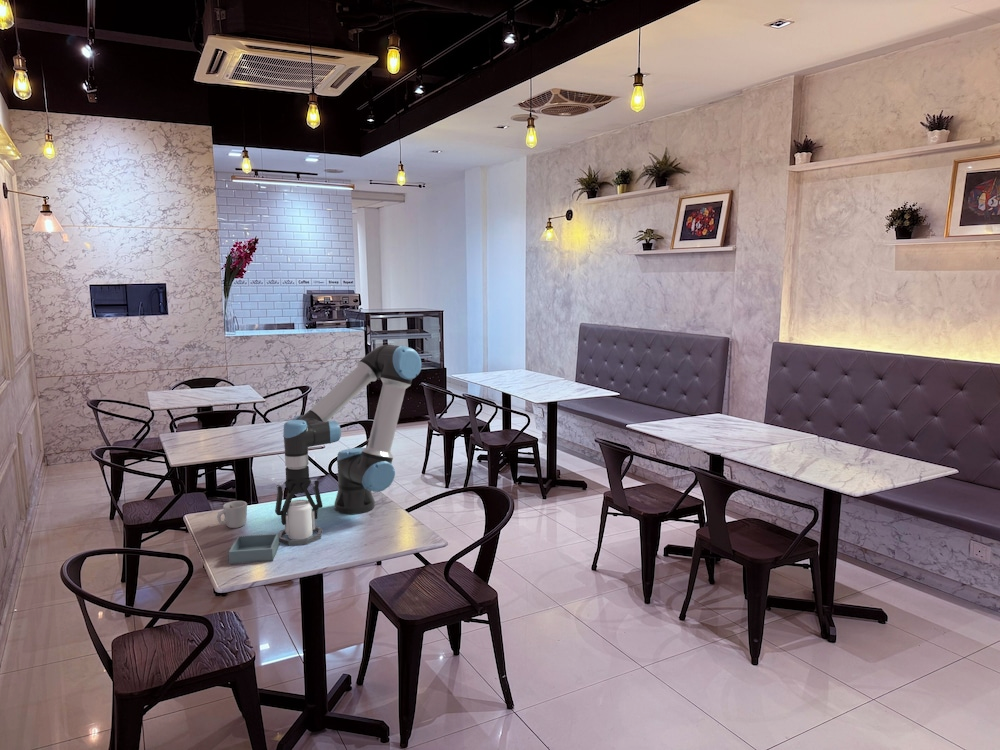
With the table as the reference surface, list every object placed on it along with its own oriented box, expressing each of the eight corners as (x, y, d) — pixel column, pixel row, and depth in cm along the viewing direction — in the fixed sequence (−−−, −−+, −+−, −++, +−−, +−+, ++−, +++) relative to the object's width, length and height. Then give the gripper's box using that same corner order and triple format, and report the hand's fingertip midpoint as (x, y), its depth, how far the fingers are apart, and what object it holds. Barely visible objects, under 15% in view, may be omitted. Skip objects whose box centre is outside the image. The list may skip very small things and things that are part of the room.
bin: (279, 545, 222) (278, 533, 221) (272, 561, 209) (272, 549, 208) (238, 547, 219) (237, 536, 219) (229, 564, 207) (228, 551, 206)
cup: (224, 534, 231) (223, 511, 230) (212, 528, 236) (211, 507, 235) (252, 524, 240) (251, 503, 239) (240, 520, 245) (239, 499, 243)
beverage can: (286, 542, 224) (284, 507, 222) (289, 533, 232) (287, 500, 230) (311, 540, 225) (310, 506, 224) (313, 531, 233) (312, 498, 232)
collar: (323, 528, 236) (323, 524, 236) (319, 543, 223) (319, 539, 223) (282, 530, 234) (282, 526, 234) (275, 546, 220) (275, 542, 220)
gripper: (324, 459, 233) (327, 521, 237) (262, 468, 223) (266, 533, 226) (330, 464, 227) (333, 528, 230) (267, 473, 216) (270, 540, 220)
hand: (300, 530), depth 228 cm, fingers closed on beverage can, 8 cm apart
